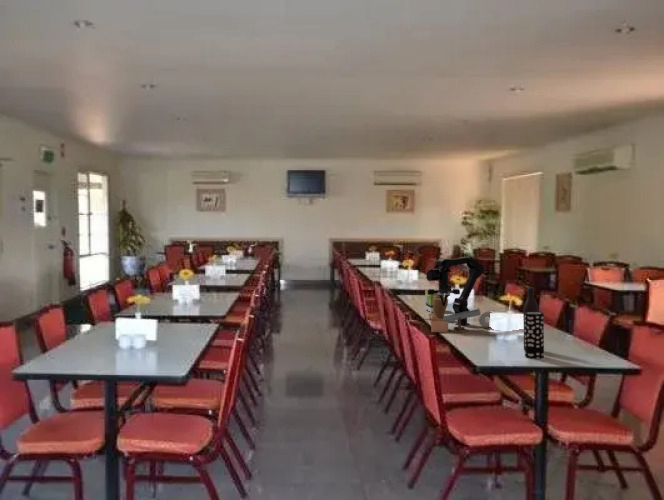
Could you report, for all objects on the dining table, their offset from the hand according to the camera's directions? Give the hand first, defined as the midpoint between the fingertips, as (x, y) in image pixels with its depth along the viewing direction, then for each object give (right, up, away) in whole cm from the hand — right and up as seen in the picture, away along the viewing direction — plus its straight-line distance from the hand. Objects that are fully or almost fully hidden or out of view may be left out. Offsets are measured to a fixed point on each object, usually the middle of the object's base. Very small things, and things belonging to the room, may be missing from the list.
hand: (443, 306), depth 398 cm
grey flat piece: (+8, -5, -12) cm, 16 cm away
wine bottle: (+29, -15, -77) cm, 84 cm away
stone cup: (+1, -11, +28) cm, 30 cm away
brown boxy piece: (-5, -13, -14) cm, 19 cm away
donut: (+24, -12, -8) cm, 28 cm away
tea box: (+5, -9, +68) cm, 69 cm away
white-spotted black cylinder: (+26, -16, -92) cm, 97 cm away
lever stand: (+6, -13, -16) cm, 21 cm away
